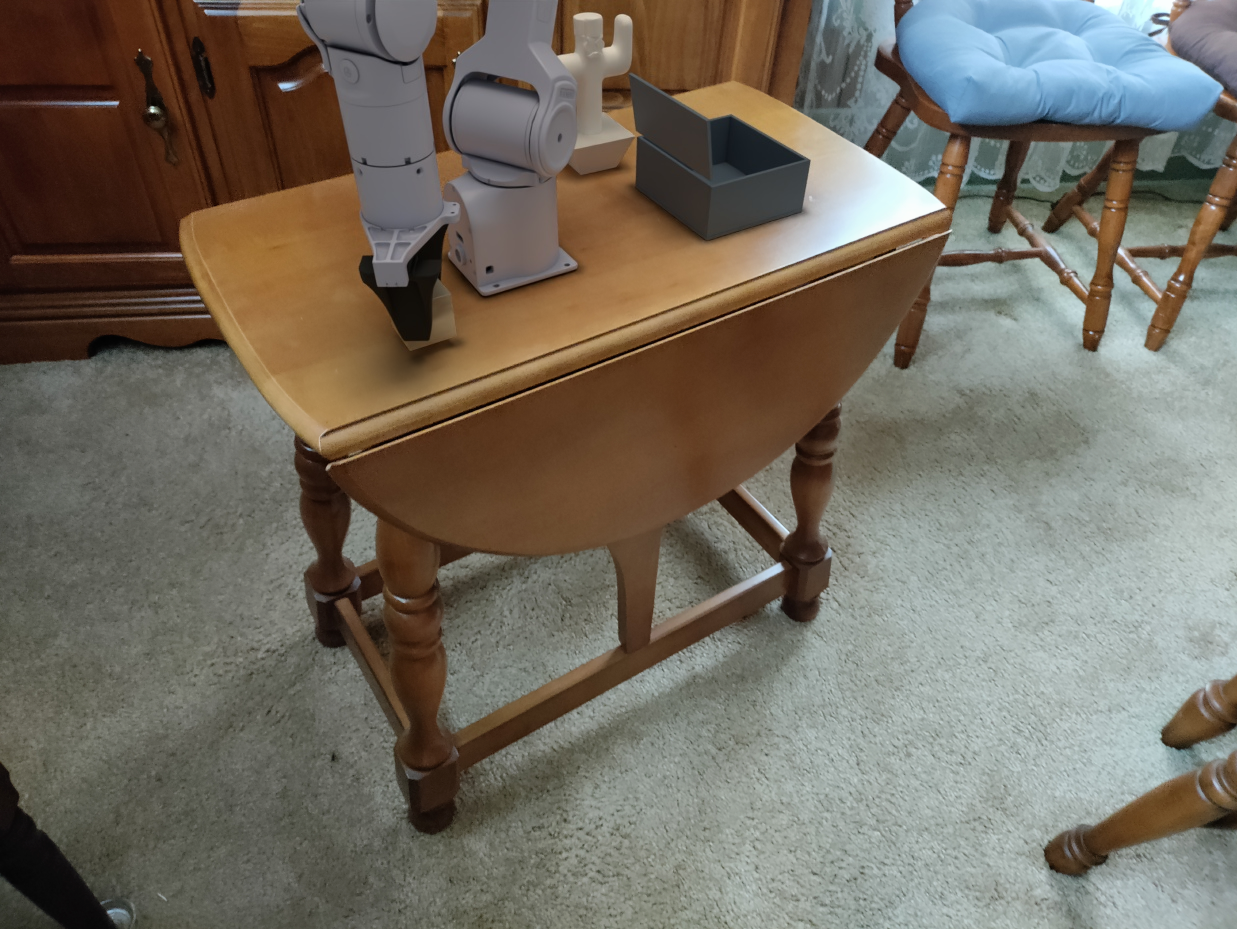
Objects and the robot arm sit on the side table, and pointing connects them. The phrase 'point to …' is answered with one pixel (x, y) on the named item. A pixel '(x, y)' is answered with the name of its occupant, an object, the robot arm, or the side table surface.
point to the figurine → (598, 91)
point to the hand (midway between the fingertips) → (421, 316)
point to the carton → (726, 180)
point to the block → (437, 318)
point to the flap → (672, 126)
